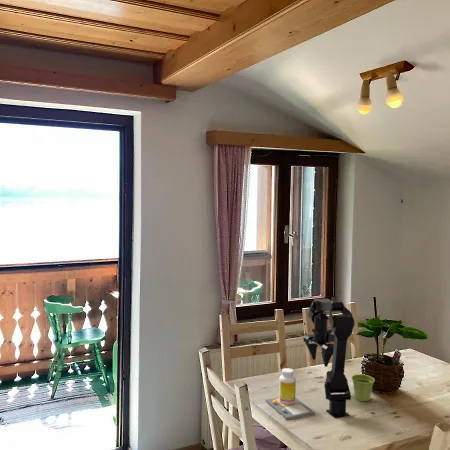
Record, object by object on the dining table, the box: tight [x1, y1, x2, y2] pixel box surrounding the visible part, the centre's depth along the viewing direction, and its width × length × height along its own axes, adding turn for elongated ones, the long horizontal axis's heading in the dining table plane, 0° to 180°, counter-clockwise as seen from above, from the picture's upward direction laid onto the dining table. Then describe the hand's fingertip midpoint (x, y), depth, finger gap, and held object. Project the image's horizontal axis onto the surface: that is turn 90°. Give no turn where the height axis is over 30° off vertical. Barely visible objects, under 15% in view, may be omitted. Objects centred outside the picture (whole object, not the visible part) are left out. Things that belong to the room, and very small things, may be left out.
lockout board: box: [265, 396, 316, 420], centre depth 197 cm, size 17×13×2 cm
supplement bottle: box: [278, 367, 297, 404], centre depth 200 cm, size 7×7×13 cm
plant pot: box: [351, 373, 376, 402], centre depth 206 cm, size 9×9×9 cm
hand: (319, 363), depth 214 cm, fingers open, 9 cm apart
